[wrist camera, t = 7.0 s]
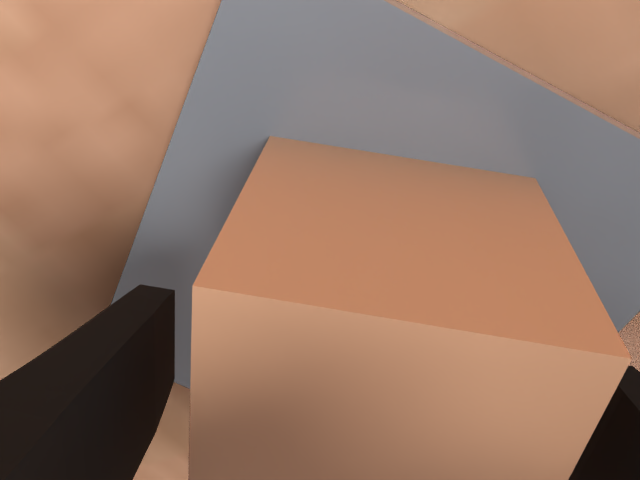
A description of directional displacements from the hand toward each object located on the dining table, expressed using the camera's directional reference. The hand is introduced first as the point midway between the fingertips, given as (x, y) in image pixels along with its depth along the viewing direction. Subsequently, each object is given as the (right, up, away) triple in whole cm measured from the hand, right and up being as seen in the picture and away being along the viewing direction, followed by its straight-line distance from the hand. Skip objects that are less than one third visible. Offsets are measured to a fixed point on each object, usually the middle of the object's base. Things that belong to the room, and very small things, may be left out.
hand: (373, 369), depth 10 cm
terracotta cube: (0, +2, +2) cm, 3 cm away
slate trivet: (0, +2, +3) cm, 3 cm away
